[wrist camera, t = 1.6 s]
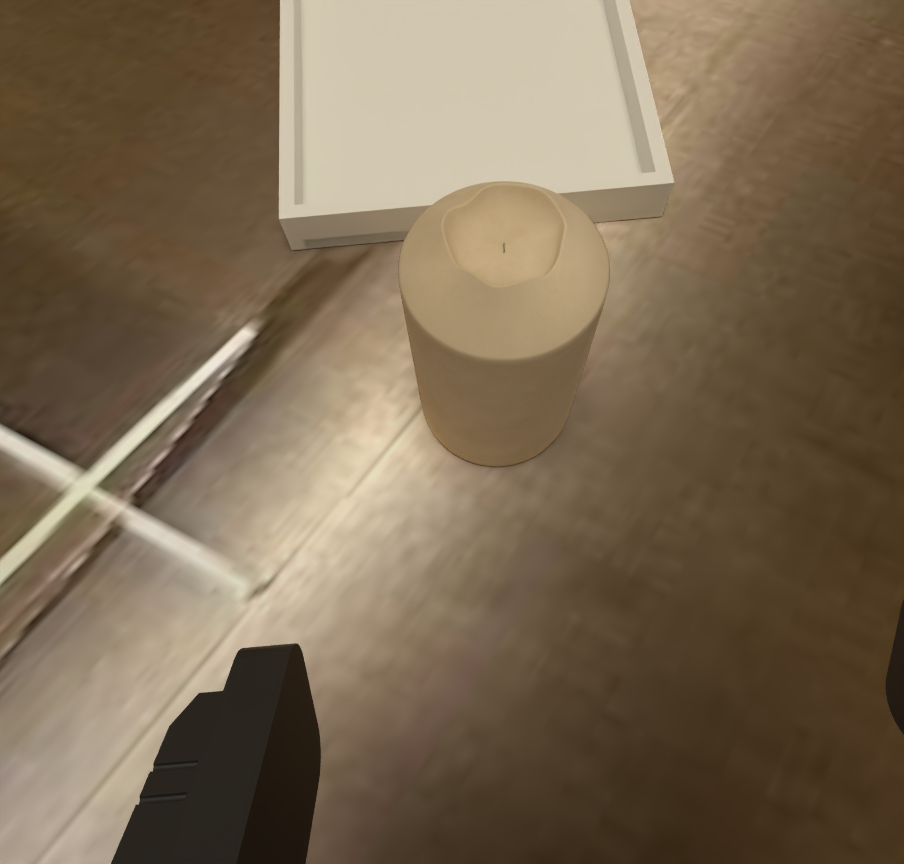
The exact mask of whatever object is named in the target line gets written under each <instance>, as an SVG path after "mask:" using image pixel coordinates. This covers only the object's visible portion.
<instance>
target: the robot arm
mask: <svg viewBox="0 0 904 864" xmlns="http://www.w3.org/2000/svg"><path fill="white" fill-rule="evenodd" d="M886 695H887V701H888V704H889V708H890V711H891V713H892V716H893V718H894V720H895V722H896V724H897V725H898V727H899V729H900V730H901V731H902V733H903V734H904V600H903V603H902V606H901V611H900V616H899V620H898V625H897V630H896V635H895V639H894V644H893V649H892V653H891V658H890V663H889V667H888V672H887V677H886ZM320 763H321V748H320V735H319V728H318V723H317V718H316V714H315V709H314V704H313V699H312V695H311V690H310V685H309V681H308V676H307V671H306V667H305V662H304V657H303V653H302V650H301V648H300V646H299V645H298V644H296V643H295V644H284V645H273V646H262V647H250V648H242V649H240V650H239V651H238V653H237V654H236V657H235V659H234V662H233V665H232V667H231V670H230V673H229V676H228V679H227V681H226V684H225V687H224V690H223V691H218V692H207V693H199V694H198V695H197V696H196V697H195V698H194V699H193V700H192V702H191V703H190V704H189V705H188V706H187V707H186V708H185V709H184V710H183V712H182V713H181V714H180V715H179V716H178V717H177V718H176V719H175V721H174V722H173V723H172V724H171V725H170V726H169V728H168V731H167V733H166V735H165V738H164V740H163V742H162V745H161V747H160V749H159V752H158V754H157V757H156V759H155V761H154V764H153V765H154V768H153V772H150V773H149V775H148V778H147V780H146V782H145V785H144V787H143V790H142V792H141V794H140V803H139V805H136V806H135V808H134V811H133V813H132V815H131V818H130V820H129V822H128V825H127V827H126V830H125V832H124V834H123V837H122V839H121V841H120V844H119V846H118V848H117V851H116V853H115V855H114V858H113V860H112V862H111V864H305V863H306V857H307V851H308V845H309V839H310V832H311V826H312V820H313V814H314V808H315V802H316V796H317V790H318V783H319V776H320Z"/></svg>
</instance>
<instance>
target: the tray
mask: <svg viewBox="0 0 904 864" xmlns="http://www.w3.org/2000/svg"><path fill="white" fill-rule="evenodd" d="M494 181H512V182H522V183H527V184H532V185H536V186H539V187H543V188H546V189H548V190H550V191H553V192H555V193H557V194H559V195H561V196H563V197H564V198H566V199H568V200H569V201H571V202H572V203H574V204H575V205H576V206H578V207H579V208H580V209H581V210H582V211H583V212H584V213H585V214H586V215H587V216H588V217H589V218H590V219H591V221H592V222H593V223H596V222H607V221H617V220H628V219H639V218H650V217H661V216H662V214H663V211H664V209H665V206H666V203H667V201H668V198H669V195H670V193H671V190H672V187H673V185H674V180H673V176H672V172H671V168H670V164H669V159H668V155H667V151H666V147H665V143H664V139H663V135H662V131H661V127H660V123H659V119H658V115H657V111H656V107H655V103H654V99H653V94H652V90H651V86H650V82H649V78H648V74H647V70H646V66H645V62H644V58H643V54H642V50H641V46H640V42H639V38H638V34H637V29H636V25H635V21H634V17H633V13H632V9H631V5H630V1H629V0H280V123H279V220H280V223H281V225H282V228H283V230H284V233H285V235H286V237H287V240H288V242H289V245H290V247H291V250H301V249H311V248H322V247H333V246H344V245H355V244H366V243H377V242H388V241H399V240H405V238H406V236H407V234H408V232H409V230H410V228H411V227H412V226H413V224H414V223H415V221H416V220H417V219H418V218H419V217H420V216H421V215H422V213H423V212H424V211H425V210H427V209H428V208H429V207H430V206H431V205H433V204H434V203H435V202H437V201H438V200H440V199H441V198H443V197H444V196H446V195H448V194H450V193H452V192H454V191H457V190H459V189H462V188H465V187H468V186H471V185H476V184H480V183H486V182H494Z"/></svg>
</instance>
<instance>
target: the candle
mask: <svg viewBox="0 0 904 864" xmlns="http://www.w3.org/2000/svg"><path fill="white" fill-rule="evenodd" d="M398 279H399V287H400V293H401V298H402V303H403V309H404V314H405V319H406V325H407V330H408V335H409V341H410V346H411V351H412V357H413V362H414V367H415V373H416V378H417V383H418V389H419V394H420V399H421V403H422V408H423V411H424V415H425V418H426V420H427V423H428V425H429V427H430V428H431V430H432V432H433V433H434V435H435V436H436V437H437V439H438V440H439V441H440V442H441V443H442V444H443V445H444V446H445V447H446V448H447V449H448V450H449V451H451V452H452V453H454V454H455V455H457V456H459V457H460V458H462V459H464V460H467V461H469V462H472V463H476V464H480V465H485V466H508V465H514V464H518V463H521V462H524V461H526V460H529V459H531V458H533V457H535V456H536V455H538V454H540V453H541V452H542V451H543V450H545V449H546V448H547V447H548V446H549V445H550V444H551V443H552V442H553V441H554V440H555V439H556V438H557V436H558V435H559V434H560V432H561V431H562V429H563V427H564V425H565V423H566V420H567V418H568V415H569V413H570V410H571V407H572V404H573V401H574V398H575V394H576V391H577V388H578V385H579V382H580V378H581V375H582V372H583V369H584V366H585V363H586V359H587V356H588V353H589V350H590V347H591V343H592V340H593V337H594V334H595V331H596V327H597V324H598V321H599V318H600V315H601V311H602V308H603V305H604V302H605V299H606V295H607V291H608V286H609V281H610V263H609V256H608V252H607V248H606V245H605V243H604V240H603V238H602V236H601V234H600V232H599V231H598V229H597V227H596V226H595V224H594V223H593V222H592V221H591V219H590V218H589V217H588V216H587V215H586V214H585V213H584V212H583V211H582V210H581V209H580V208H579V207H578V206H576V205H575V204H574V203H572V202H571V201H569V200H568V199H566V198H564V197H563V196H561V195H559V194H557V193H555V192H553V191H550V190H548V189H546V188H543V187H539V186H536V185H532V184H527V183H522V182H512V181H494V182H486V183H480V184H476V185H471V186H468V187H465V188H462V189H459V190H457V191H454V192H452V193H450V194H448V195H446V196H444V197H443V198H441V199H440V200H438V201H437V202H435V203H434V204H433V205H431V206H430V207H429V208H428V209H427V210H425V211H424V212H423V213H422V215H421V216H420V217H419V218H418V219H417V220H416V221H415V223H414V224H413V226H412V227H411V228H410V230H409V232H408V234H407V236H406V238H405V240H404V242H403V245H402V248H401V251H400V256H399V261H398Z"/></svg>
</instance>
